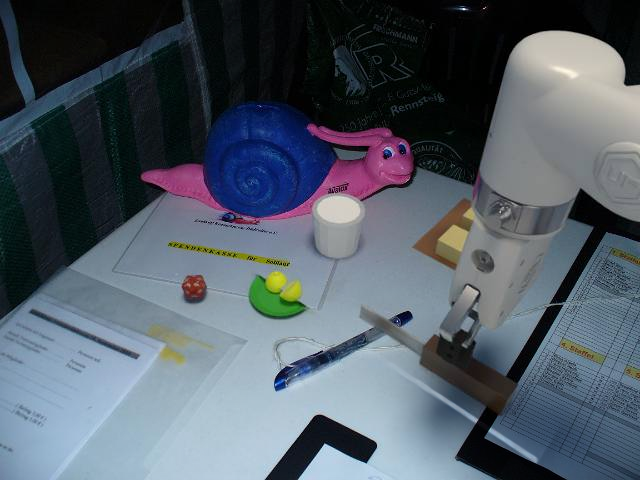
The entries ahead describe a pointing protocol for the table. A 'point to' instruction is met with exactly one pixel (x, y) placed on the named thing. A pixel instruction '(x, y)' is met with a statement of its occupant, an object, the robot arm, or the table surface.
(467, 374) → the knife
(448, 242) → the butter
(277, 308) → the green and yellow piece
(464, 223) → the butter slice
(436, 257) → the cutting board
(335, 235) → the white ramekin
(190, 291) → the die
